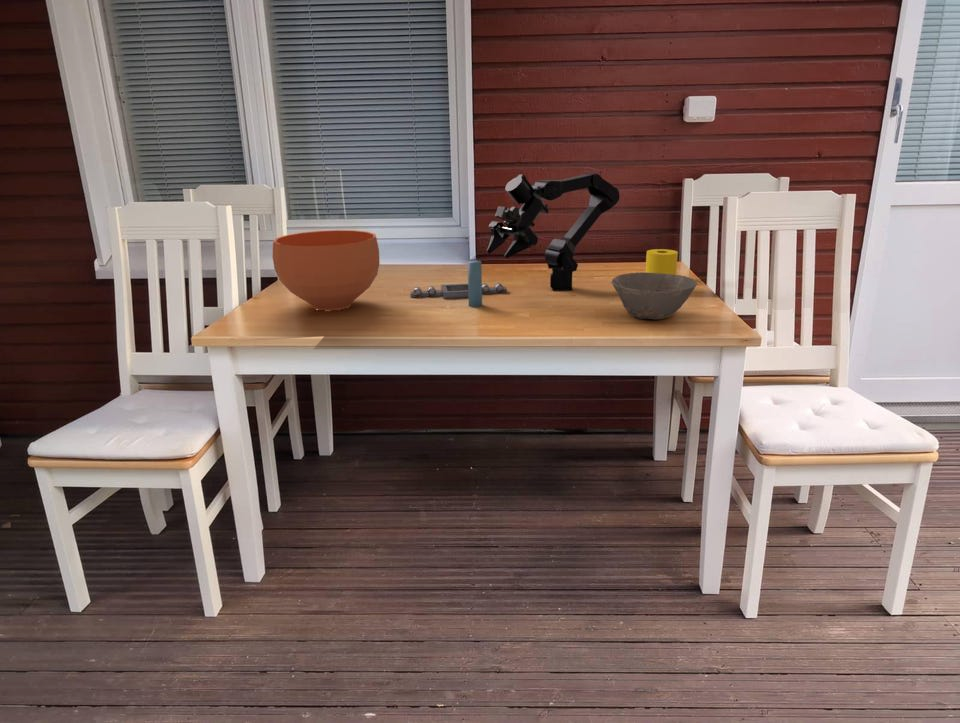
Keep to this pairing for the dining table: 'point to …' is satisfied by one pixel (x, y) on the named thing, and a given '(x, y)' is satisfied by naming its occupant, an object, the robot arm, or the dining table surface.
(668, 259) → the tape roll
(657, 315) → the ceramic bowl
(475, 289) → the pin
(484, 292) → the grey square frame handle
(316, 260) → the flowerpot
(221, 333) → the dining table surface
